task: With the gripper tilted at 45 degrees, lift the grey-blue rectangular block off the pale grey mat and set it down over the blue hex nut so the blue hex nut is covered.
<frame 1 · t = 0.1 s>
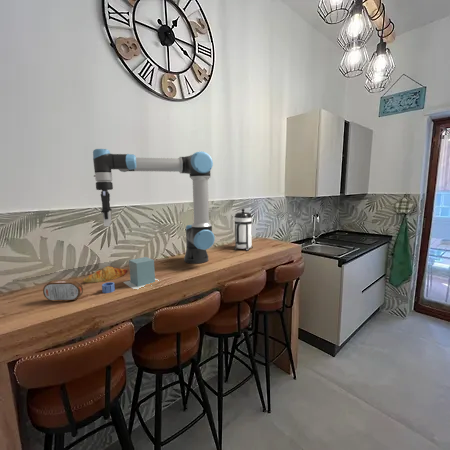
hand: (108, 224, 131), 28 cm above the breakfast bar, tool pointing down, fingers open, 13 cm apart
grey-blue rectangular block: (142, 271, 126), on the mat
mat: (142, 282, 127), on the breakfast bar
coffee press: (243, 249, 193), on the breakfast bar
tin: (63, 300, 108), on the breakfast bar
croissant: (106, 279, 134), on the breakfast bar
blue hex nut: (108, 291, 116), on the breakfast bar
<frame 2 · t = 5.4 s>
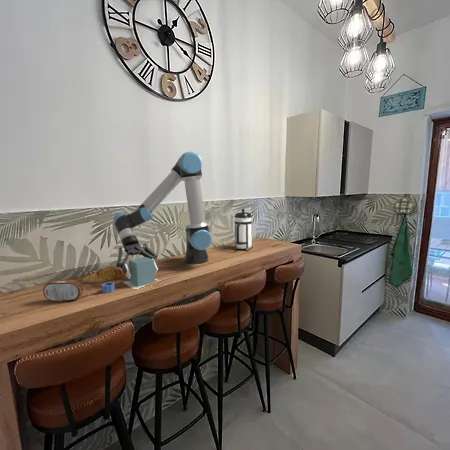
hand: (143, 274, 124), 5 cm above the breakfast bar, tool tilted 45°, fingers open, 13 cm apart
nothing on the breakfast bar moved.
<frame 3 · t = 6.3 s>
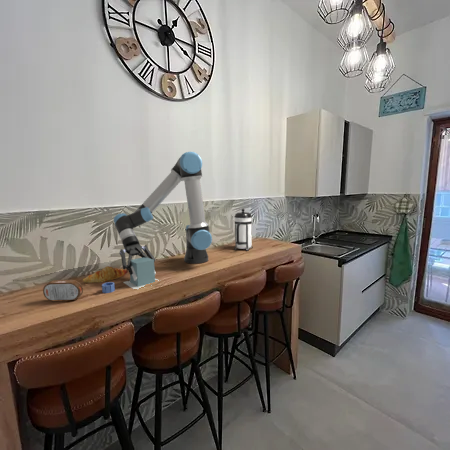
hand: (145, 277, 124), 4 cm above the breakfast bar, tool tilted 45°, fingers closed on grey-blue rectangular block, 9 cm apart
grey-blue rectangular block: (142, 271, 126), on the mat, touching gripper
everything else where it was.
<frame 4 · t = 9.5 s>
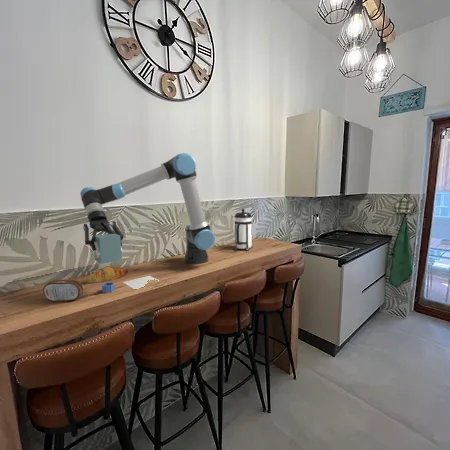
hand: (110, 254, 113), 17 cm above the breakfast bar, tool tilted 45°, fingers closed on grey-blue rectangular block, 9 cm apart
grey-blue rectangular block: (107, 247, 115), point 20 cm above the breakfast bar, touching gripper
everything else where it was.
when the fingers open (5 cm above the breakfast bar, at t = 12.9 s): grey-blue rectangular block drops 2 cm, on the breakfast bar.
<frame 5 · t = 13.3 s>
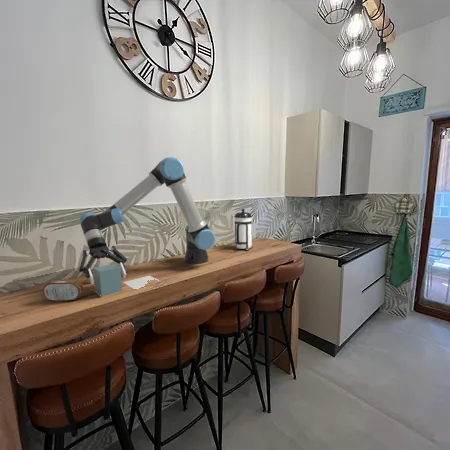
hand: (109, 279, 114), 6 cm above the breakfast bar, tool tilted 45°, fingers open, 13 cm apart
grey-blue rectangular block: (107, 279, 116), on the breakfast bar
everything else where it was.
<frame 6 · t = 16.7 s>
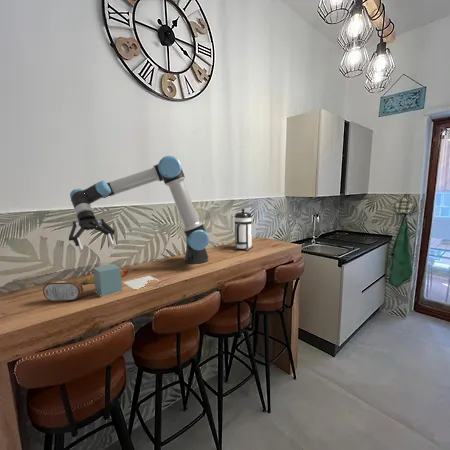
hand: (97, 248, 122), 18 cm above the breakfast bar, tool tilted 45°, fingers open, 13 cm apart
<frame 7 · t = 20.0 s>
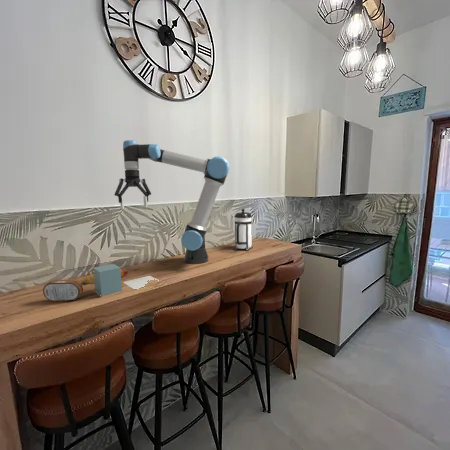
hand: (134, 208, 148), 35 cm above the breakfast bar, tool pointing down, fingers open, 13 cm apart
at the end: grey-blue rectangular block 0.1 cm from the blue hex nut (horizontally); grey-blue rectangular block on the breakfast bar; grey-blue rectangular block tilted 0° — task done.
